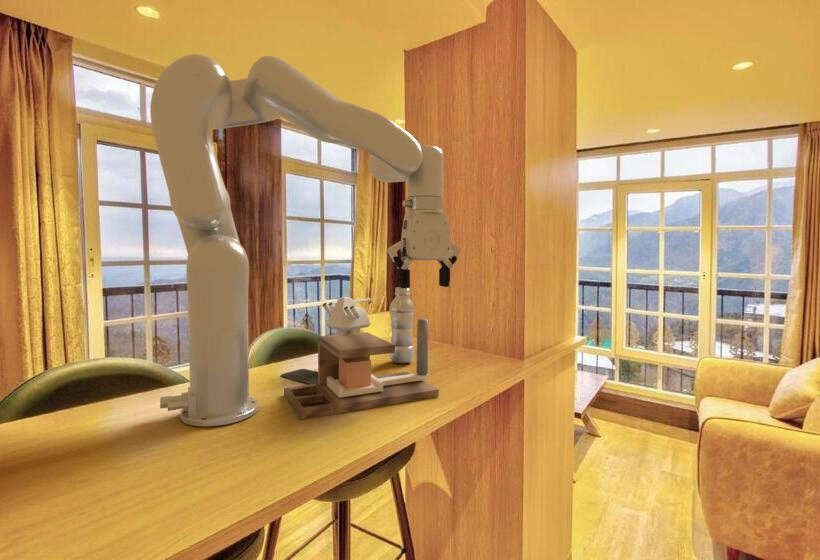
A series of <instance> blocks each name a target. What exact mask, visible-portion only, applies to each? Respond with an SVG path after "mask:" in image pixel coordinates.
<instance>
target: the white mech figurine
mask: <svg viewBox="0 0 820 560" xmlns="http://www.w3.org/2000/svg"><path fill="white" fill-rule="evenodd" d="M371 300H372V299H371V298H370V297H367V298H363V299H362V298H361V299H353V298H351V297H349V296H344V297H343V296H342V297H339V298H338V299H337V301H336V303H335V304H334V302H333V301H330V302H329V303H327V302H324V303H323V304H322V305H321V306H322V307H323V308H324V310H325V311H326V313H327V314H329V318H328V320H327V323H326V326H327V327H328V328H329V329H332V330H336V331H337V333H336V335H341V334H354V333H361V329H365V328H369V327H370V326H371V321H370V318H369V316H368V313H367V310H366V309H364V308H360V307H358V306H357V305H356V304H358V303H364V302H368V303H370V302H371Z"/></svg>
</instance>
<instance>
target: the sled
mask: <svg viewBox="0 0 820 560" xmlns="http://www.w3.org/2000/svg"><path fill="white" fill-rule="evenodd" d="M429 321H430V320H429V318H417V321H416V322H417V323H416V325H417V328H416V331H417V332H416V373H410V374H409V375H401V376H394V377H386V378H379V379H378V378H377V377H375V376H376V375H374V374H372V373H371V385H369V386H362V387H355V388H348V389H347V388H345V387H344V386H343V385H342V384H341V383H340V382H339V379H336V380H334V379H333V378H332V377H331V376H330V377H327V386H328V387H329V388H330V389H331V390H332V391H333V392H334V393H335V394H336V395H337V396H338V397H339V398H340V397H347V396H354V395H360V394H367V393H374V392H380V391H383V386H386V385H392V384H399V383H406V382H413V381H420V380H423V381H425V380H429V379H430V374H429V373H428V369H429V368H428V364H429V363H428V362H429Z"/></svg>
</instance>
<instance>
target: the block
mask: <svg viewBox="0 0 820 560" xmlns="http://www.w3.org/2000/svg"><path fill="white" fill-rule="evenodd" d="M371 374H372V360H371V358H370V359H368V358H366V357H365V356H361V357H351V358H342V359H339V382H340V383H341V384H342V385H343V386H344V387H345V388H347V389H348V388H355V387H362V386H369V385H371Z"/></svg>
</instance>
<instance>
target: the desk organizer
mask: <svg viewBox="0 0 820 560" xmlns="http://www.w3.org/2000/svg"><path fill="white" fill-rule="evenodd" d="M317 337H318V339H317V341H318V342H317V348H318V349H317V360H318V361H317V365H318V367H317V372H318V384H310V385H307V384H302V385H296V386H289V387H283V396H284V398H285V399H286V401H287V402H288V404H289V405H290V407H291V408H292V411H294V414H295V415H296V416H297V418H298V420H300V421H303V420H308V419H314V418H320V417H324V416H325V417H326V416H331V415H332V416H333V415H337V414H338V415H339V414H342V413H349V412H355V411H362V410H369V409H374V408H380V407H385V405H386V406H392V405H397V403H398V404H402V403H403V404H404V403H409V402H416V401H420V400H421V401H422V400H426V399H433V397H434V398H438V397H437V396H439V395H440V393H439V390H440V389H438V388H437V387H435V386H434V385H432V384H430V383H428V382H426V381H425V380H420V381H413V382H406V383H399V384H392V385H386V386H383V391H380V392H374V393H367V394H360V395H354V396H347V397H340V398H339V397H338V396H337V395H336V394H335V393H334V392H333V391H332V390H331V389H330V388H329V387H328V386H327V377H330V376H331V377H332V378H333V379H334V380H336V379H339V359H342V358H351V357H361V356H365V357H366V358H368V359H370V360H371V356H378V355H387V354H389V353H395V345H394V344H391V342H389V341H386V340H385V339H382V338H381V337H378V336H376V335H374V334H372V333H369V332H360V333H354V334H341V335H337V334H330V335H328V334H327V335H319V336H317ZM409 374H411V373H410V372H408V371H404V372H403V371H402V372H397V373H395V372H394V373H388V374H387V373H386V374H381V375H374V376H375V377H377V378H378V379H379V378H386V377H394V376H401V375H409ZM391 404H392V405H391Z"/></svg>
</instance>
